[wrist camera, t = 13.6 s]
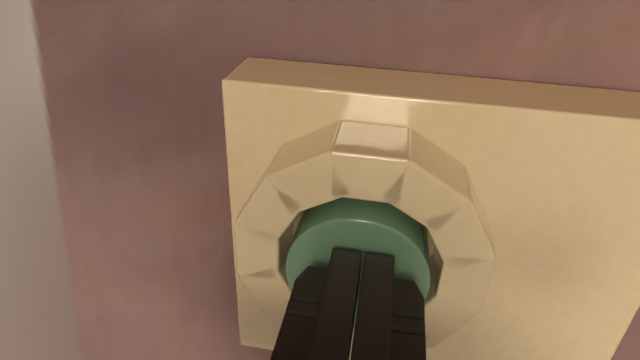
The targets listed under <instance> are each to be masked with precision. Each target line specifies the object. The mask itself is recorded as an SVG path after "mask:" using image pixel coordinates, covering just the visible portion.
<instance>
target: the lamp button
mask: <svg viewBox="0 0 640 360" xmlns="http://www.w3.org/2000/svg"><path fill="white" fill-rule="evenodd" d="M333 248H338V249H345V250H352V251H360V252H362V259H361V269H360V278H359V287H358V296H357V304H356V312H355V320H354V328H353V329H355V321H356V314H357V306H358V299H359V292H360V284H361V277H362V269H363V262H364V255H365V252H368V253H375V254H382V255H389V256H395V263H394V278H397V279H404V280H411V281H415V283H416V284H417V286H418V288H419V290H420V292H421V293H422V295H423V297H424V301H425V299H426V297H427V295H428V292H429V289H430V281H431V280H430V261H429V243H428V231H427V228H426V227H425V226H424V225H422V224H421V223H419V222H417V221H416V220H414V219H413V218H411V217H410V216H408V215H407V214H405V213H404V212H402V211H400V210H399V209H397V208H396V207H394V206H393V205H391V204H390V203H384V202H375V201H367V200H359V199H351V198H343V197H341V198H338V199H335V200H333V201H330V202H327V203H324V204H321V205H318V206H316V207H313V208H310V209H307V210H304V211H303V213H302V215H301V218H300V220H299V223H298V226H297V229H296V232H295V234H294V237H293V240H292V243H291V246H290V248H289V251H288V254H287V258H286V265H285V269H286V277H287V281H288V284H289V286H290V289H291V291H292V289H293V285H294V282H295V279H296V278H297V277H298V276H299V275H300V274H301V273H302V272H303V271H304V270H305V269H306V268H307V267H308V266H313V267H320V268H327V269H328V265H329V261H330V257H331V252H332V249H333Z"/></svg>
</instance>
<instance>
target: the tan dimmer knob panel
mask: <svg viewBox="0 0 640 360" xmlns="http://www.w3.org/2000/svg"><path fill="white" fill-rule="evenodd" d="M222 95H223V109H224V123H225V137H226V151H227V165H228V179H229V193H230V208H231V222H232V236H233V250H234V264H235V278H236V292H237V306H238V320H239V334H240V344H241V345H243V346H249V347H255V348H261V349H267V350H274V346H275V343H276V340H277V337H278V333H279V330H280V327H281V324H282V321H283V317H284V314H285V312H286V308H287V305H288V301H289V300H290V295H291V292H292V291H291V289H290V286H289V284H288V281H287V277H286V269H285V265H286V258H287V254H288V251H289V248H290V246H291V243H292V240H293V237H294V234H295V232H296V229H297V226H298V223H299V220H300V218H301V215H302V213H303V211H304V210H307V209H310V208H313V207H316V206H318V205H321V204H324V203H327V202H330V201H333V200H335V199H338V198H341V197H343V198H351V199H359V200H367V201H375V202H384V203H390V204H391V205H393V206H394V207H396V208H397V209H399V210H400V211H402V212H404V213H405V214H407V215H408V216H410V217H411V218H413V219H414V220H416V221H417V222H419V223H421V224H422V225H424V226H425V227H426V228H427V231H428V243H429V261H430V280H431V281H430V289H429V292H428V295H427V297H426V299H425V301H424V306H425V337H426V360H611V358H612V356H613V355H614V353H615V351H616V349H617V347H618V345H619V344H620V342H621V340H622V338H623V336H624V334H625V333H626V331H627V329H628V327H629V325H630V323H631V322H632V320H633V318H634V316H635V314H636V312H637V311H638V309H639V307H640V92H634V91H623V90H612V89H601V88H589V87H578V86H567V85H556V84H544V83H533V82H522V81H511V80H500V79H488V78H477V77H466V76H455V75H443V74H432V73H421V72H410V71H398V70H387V69H376V68H365V67H354V66H342V65H331V64H320V63H309V62H297V61H286V60H275V59H264V58H252V57H247V58H245V59H244V60H243V61H242V62H241V63H240V64H239V65H238V66H237V67H236V68H234V69H233V70H232V71H231V72H230V73H229V74H228V75H227V76H226V77H225V78H224V79H222ZM353 336H354V329H353V335H352V342H351V349H350V357H349V360H350V358H351V351H352V343H353Z"/></svg>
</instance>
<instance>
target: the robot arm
mask: <svg viewBox="0 0 640 360" xmlns="http://www.w3.org/2000/svg"><path fill="white" fill-rule="evenodd" d="M361 259H362V252H360V251H352V250H345V249H338V248H333V249H332V252H331V257H330V261H329V265H328V269H327V268H320V267H313V266H308V267H307V268H306V269H305V270H304V271H303V272H302V273H301V274H300V275H299V276H298V277H297V278H296V279H295V282H294V285H293V289H292V292H291V295H290V300H289V301H288V305H287V308H286V312H285V314H284V317H283V321H282V324H281V327H280V330H279V333H278V337H277V340H276V343H275V346H274V350H273V353H272V356H271V359H270V360H349V357H350V349H351V342H352V335H353V328H354V320H355V312H356V304H357V296H358V287H359V278H360V269H361ZM394 263H395V256H389V255H382V254H375V253H368V252H365V255H364V262H363V269H362V277H361V284H360V292H359V299H358V306H357V314H356V321H355V329H354V336H353V343H352V351H351V358H350V360H426V337H425V306H424V297H423V295H422V293H421V292H420V290H419V288H418V286H417V284H416V283H415V281H411V280H404V279H397V278H394Z"/></svg>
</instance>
